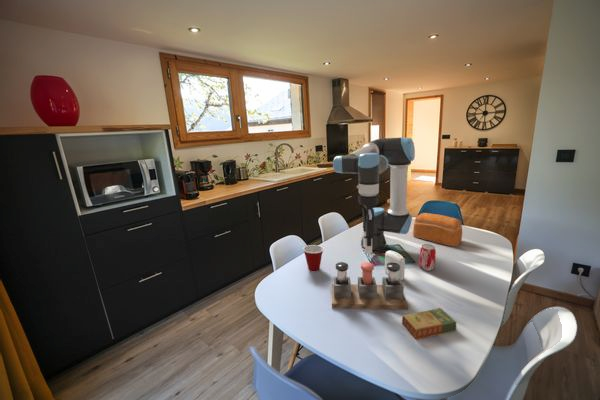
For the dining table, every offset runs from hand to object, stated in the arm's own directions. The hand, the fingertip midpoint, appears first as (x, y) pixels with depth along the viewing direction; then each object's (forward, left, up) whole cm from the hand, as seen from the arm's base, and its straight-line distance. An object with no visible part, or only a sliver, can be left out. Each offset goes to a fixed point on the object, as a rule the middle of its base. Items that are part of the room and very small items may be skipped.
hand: (367, 249), depth 107 cm
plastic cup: (-30, -16, -23) cm, 41 cm away
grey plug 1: (-3, -10, -16) cm, 19 cm away
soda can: (-15, +39, -23) cm, 48 cm away
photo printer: (-13, +20, -23) cm, 33 cm away
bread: (-45, +67, -23) cm, 84 cm away
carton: (+21, +14, -23) cm, 35 cm away
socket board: (0, 0, -23) cm, 23 cm away
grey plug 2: (+3, +10, -16) cm, 19 cm away
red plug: (0, 0, -16) cm, 16 cm away
